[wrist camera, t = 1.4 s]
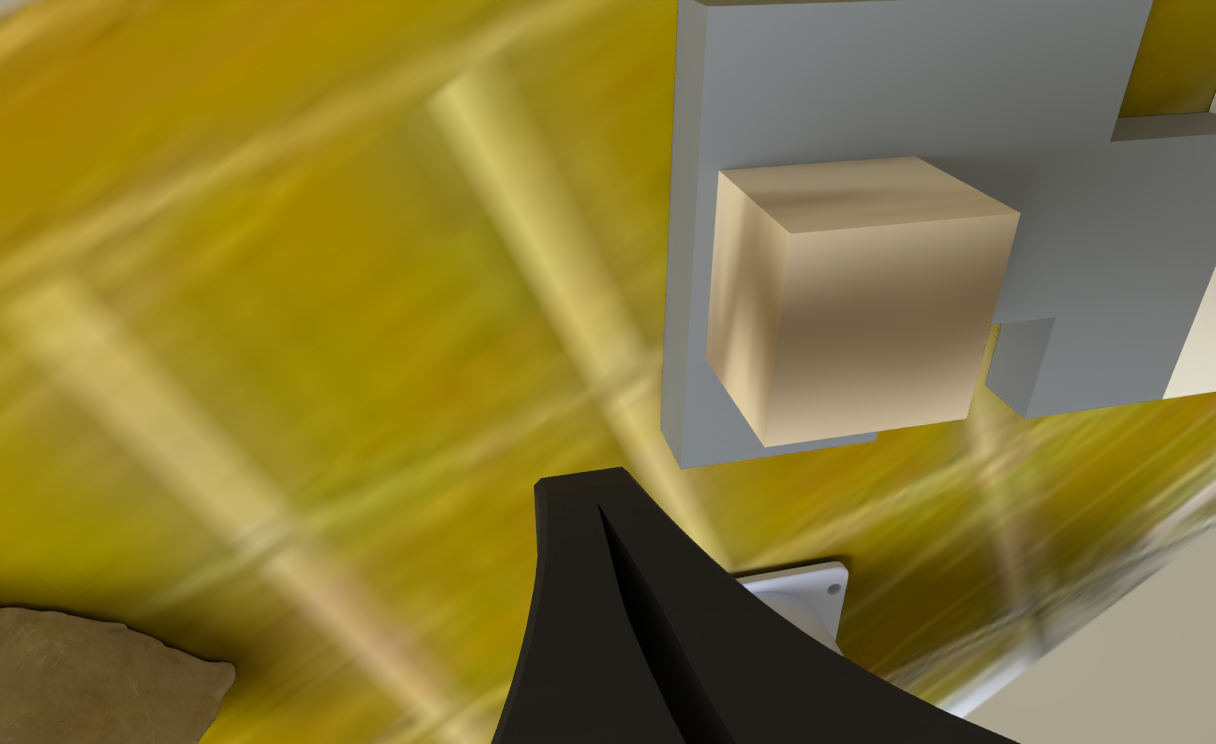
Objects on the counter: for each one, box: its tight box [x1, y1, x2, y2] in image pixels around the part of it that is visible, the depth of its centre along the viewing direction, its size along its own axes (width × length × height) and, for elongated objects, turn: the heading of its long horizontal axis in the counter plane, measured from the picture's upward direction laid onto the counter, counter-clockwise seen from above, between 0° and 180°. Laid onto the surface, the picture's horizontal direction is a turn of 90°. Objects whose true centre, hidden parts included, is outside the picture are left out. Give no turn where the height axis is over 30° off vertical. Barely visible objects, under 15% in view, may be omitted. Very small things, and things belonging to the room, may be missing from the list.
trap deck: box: [661, 0, 1216, 469], centre depth 23 cm, size 12×23×4 cm, turn 89°
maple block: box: [705, 156, 1021, 447], centre depth 20 cm, size 5×5×4 cm
